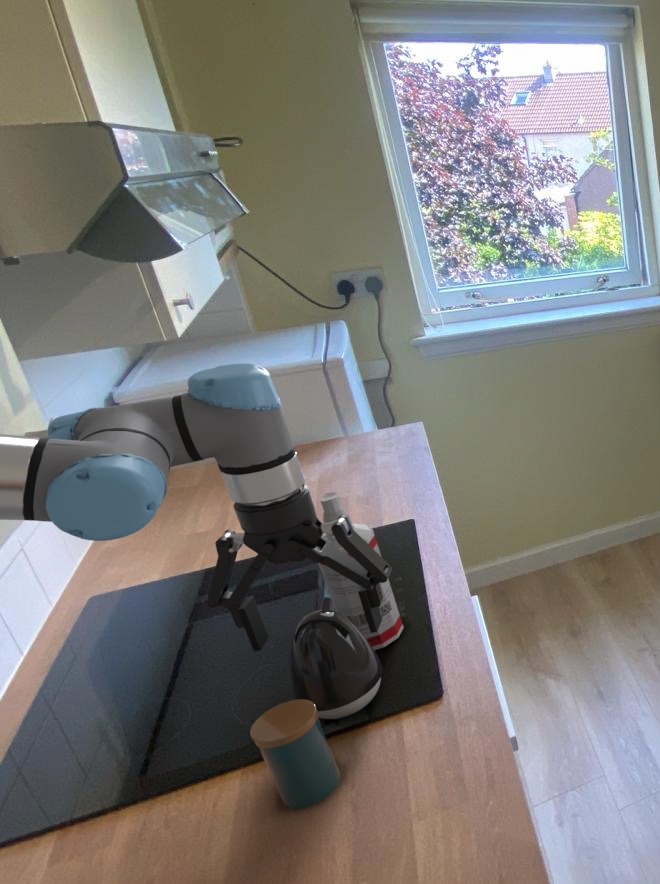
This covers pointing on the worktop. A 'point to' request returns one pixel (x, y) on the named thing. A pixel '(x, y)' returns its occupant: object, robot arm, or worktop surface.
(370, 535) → the white plastic bottle
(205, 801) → the worktop surface
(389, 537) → the worktop surface
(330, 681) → the black egg-shaped gadget
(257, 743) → the canister
